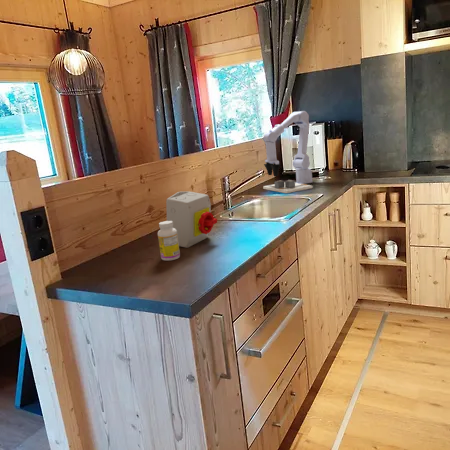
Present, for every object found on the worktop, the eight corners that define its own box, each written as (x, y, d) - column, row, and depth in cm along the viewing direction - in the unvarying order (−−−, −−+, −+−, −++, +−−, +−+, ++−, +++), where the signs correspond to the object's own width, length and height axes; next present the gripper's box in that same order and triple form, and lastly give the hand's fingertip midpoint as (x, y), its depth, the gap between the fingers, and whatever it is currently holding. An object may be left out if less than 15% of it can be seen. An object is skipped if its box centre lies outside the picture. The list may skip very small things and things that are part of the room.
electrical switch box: (199, 255, 157) (199, 202, 151) (167, 246, 164) (166, 195, 158) (220, 243, 169) (221, 193, 163) (190, 235, 176) (189, 188, 170)
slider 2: (290, 186, 256) (290, 179, 255) (295, 186, 252) (294, 180, 251) (285, 187, 254) (284, 180, 253) (289, 187, 250) (288, 181, 249)
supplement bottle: (161, 256, 153) (156, 221, 150) (180, 254, 153) (175, 219, 150) (160, 262, 146) (155, 225, 143) (180, 259, 147) (175, 223, 144)
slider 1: (281, 186, 258) (280, 179, 257) (284, 186, 255) (284, 180, 254) (274, 187, 257) (274, 180, 256) (278, 188, 253) (277, 181, 252)
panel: (287, 184, 275) (287, 181, 274) (312, 188, 252) (312, 185, 251) (263, 188, 268) (263, 186, 267) (286, 193, 245) (286, 190, 244)
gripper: (259, 153, 262) (261, 175, 265) (270, 154, 248) (272, 177, 252) (270, 151, 264) (272, 173, 267) (281, 152, 251) (283, 175, 254)
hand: (273, 175), depth 260 cm, fingers open, 7 cm apart
